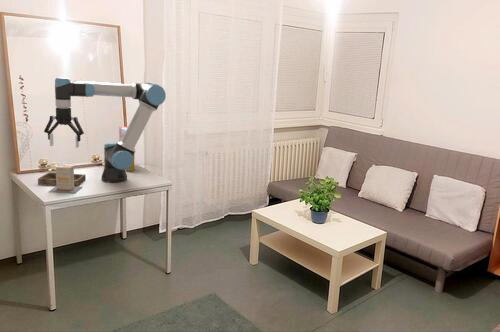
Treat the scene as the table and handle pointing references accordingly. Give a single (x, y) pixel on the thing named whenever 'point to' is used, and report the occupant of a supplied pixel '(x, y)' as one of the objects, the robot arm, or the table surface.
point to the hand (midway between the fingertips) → (64, 146)
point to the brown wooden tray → (51, 179)
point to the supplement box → (65, 177)
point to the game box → (121, 134)
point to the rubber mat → (65, 190)
